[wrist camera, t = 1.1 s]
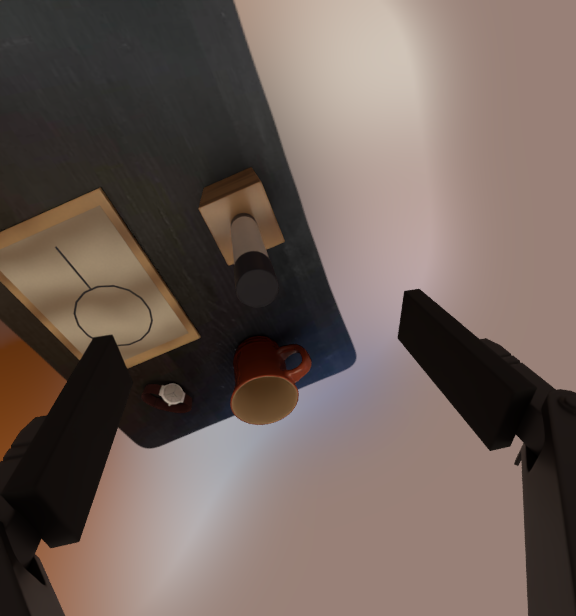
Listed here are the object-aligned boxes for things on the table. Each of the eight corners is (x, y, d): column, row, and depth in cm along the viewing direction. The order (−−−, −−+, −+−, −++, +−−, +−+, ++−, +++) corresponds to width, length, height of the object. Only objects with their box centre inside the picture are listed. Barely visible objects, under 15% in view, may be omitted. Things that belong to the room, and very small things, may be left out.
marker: (227, 213, 29) (232, 272, 18) (255, 210, 29) (277, 266, 18) (232, 240, 30) (238, 310, 19) (258, 237, 30) (280, 304, 19)
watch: (198, 390, 51) (197, 407, 48) (184, 409, 53) (182, 427, 50) (151, 373, 48) (147, 391, 45) (138, 394, 49) (132, 412, 46)
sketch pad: (-31, 245, 35) (-35, 247, 34) (100, 187, 34) (98, 188, 34) (100, 377, 47) (99, 380, 46) (200, 335, 46) (200, 338, 46)
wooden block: (203, 187, 36) (198, 208, 28) (251, 166, 36) (260, 180, 28) (226, 235, 40) (228, 266, 31) (271, 215, 39) (285, 241, 31)
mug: (252, 382, 52) (258, 434, 44) (216, 350, 48) (215, 401, 39) (312, 342, 50) (331, 388, 42) (280, 305, 46) (294, 348, 37)
